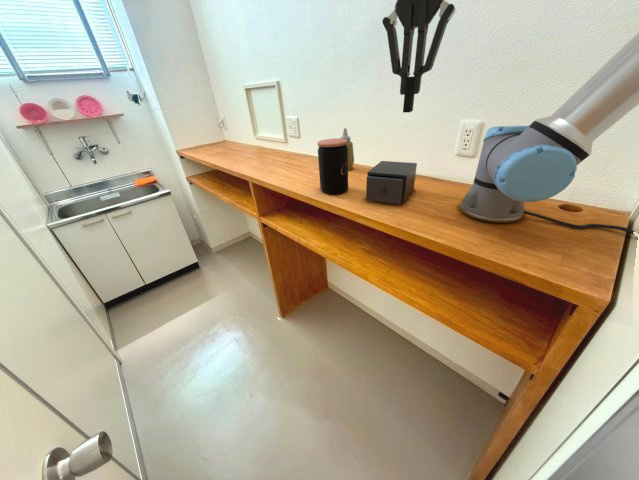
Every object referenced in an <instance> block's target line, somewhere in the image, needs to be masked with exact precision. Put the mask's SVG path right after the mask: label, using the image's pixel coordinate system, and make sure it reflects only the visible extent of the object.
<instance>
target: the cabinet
mask: <svg viewBox="0 0 639 480" xmlns="http://www.w3.org/2000/svg"><path fill="white" fill-rule="evenodd" d="M417 166H418V163H417V162H407V161H405V162H404V161H390V160H380V162H378V163H377V164H375V165H374V166H373V167H372V168H371V169H369V170H368V171H367V175H366V177H367V176H372V175H379V176H391V177H402V178H404V182H403V191H402V199H401V204H400V205H405V204H406V202H407V200H408V199H409V197H410V196H411V194H412V193H413V191H414V190H415V182H416V174H417Z"/></svg>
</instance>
